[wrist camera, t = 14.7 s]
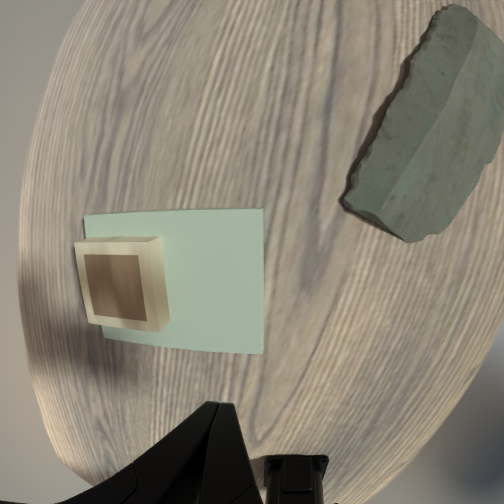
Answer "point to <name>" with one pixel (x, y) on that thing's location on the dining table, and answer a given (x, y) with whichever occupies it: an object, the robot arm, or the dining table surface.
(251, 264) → the mat
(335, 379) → the dining table surface
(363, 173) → the stone slab
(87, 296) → the beige flat box
